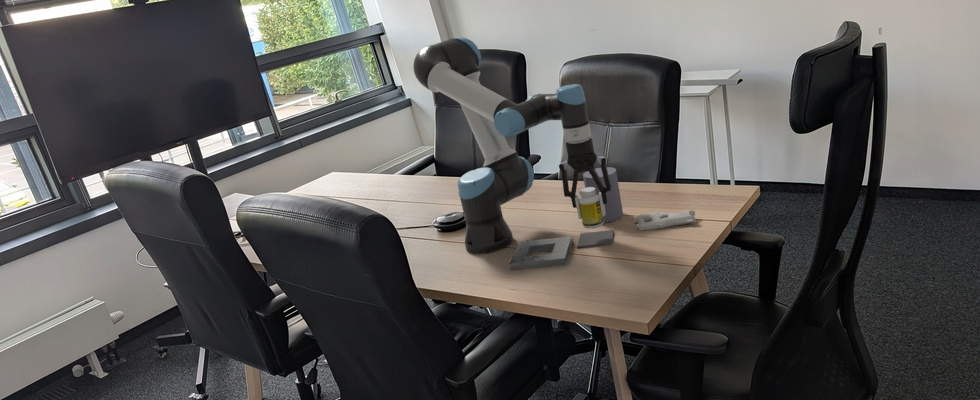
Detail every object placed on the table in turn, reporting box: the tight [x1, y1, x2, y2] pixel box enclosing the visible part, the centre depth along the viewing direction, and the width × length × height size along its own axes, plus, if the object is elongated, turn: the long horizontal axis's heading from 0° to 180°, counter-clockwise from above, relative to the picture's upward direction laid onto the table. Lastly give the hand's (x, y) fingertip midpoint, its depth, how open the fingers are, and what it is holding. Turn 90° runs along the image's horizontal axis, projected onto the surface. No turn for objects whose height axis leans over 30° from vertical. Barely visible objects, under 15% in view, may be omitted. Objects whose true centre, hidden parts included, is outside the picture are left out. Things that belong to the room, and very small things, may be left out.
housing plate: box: [508, 235, 573, 271], centre depth 216 cm, size 16×16×2 cm
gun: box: [632, 210, 697, 231], centre depth 221 cm, size 18×3×10 cm
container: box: [582, 166, 624, 224], centre depth 233 cm, size 10×10×15 cm
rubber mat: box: [576, 229, 615, 249], centre depth 219 cm, size 10×10×1 cm
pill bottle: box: [579, 187, 605, 230], centre depth 216 cm, size 6×6×11 cm
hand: (592, 215), depth 217 cm, fingers closed on pill bottle, 6 cm apart
